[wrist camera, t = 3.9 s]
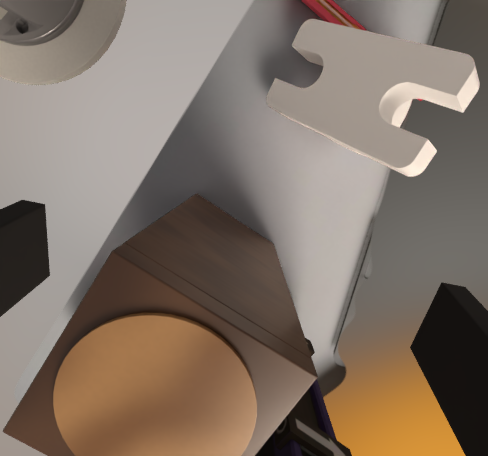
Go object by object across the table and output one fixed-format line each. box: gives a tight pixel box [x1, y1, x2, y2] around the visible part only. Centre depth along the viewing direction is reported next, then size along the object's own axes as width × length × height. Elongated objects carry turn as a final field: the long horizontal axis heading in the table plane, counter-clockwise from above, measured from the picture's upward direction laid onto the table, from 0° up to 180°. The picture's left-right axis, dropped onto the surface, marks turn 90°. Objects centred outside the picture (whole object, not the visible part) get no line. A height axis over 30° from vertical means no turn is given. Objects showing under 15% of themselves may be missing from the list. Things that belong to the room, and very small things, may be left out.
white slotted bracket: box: [266, 19, 479, 177], centre depth 36 cm, size 10×18×11 cm
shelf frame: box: [125, 194, 312, 359], centre depth 32 cm, size 12×12×26 cm
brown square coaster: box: [3, 243, 318, 456], centre depth 18 cm, size 12×12×2 cm
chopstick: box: [301, 0, 423, 101], centre depth 38 cm, size 24×2×5 cm
